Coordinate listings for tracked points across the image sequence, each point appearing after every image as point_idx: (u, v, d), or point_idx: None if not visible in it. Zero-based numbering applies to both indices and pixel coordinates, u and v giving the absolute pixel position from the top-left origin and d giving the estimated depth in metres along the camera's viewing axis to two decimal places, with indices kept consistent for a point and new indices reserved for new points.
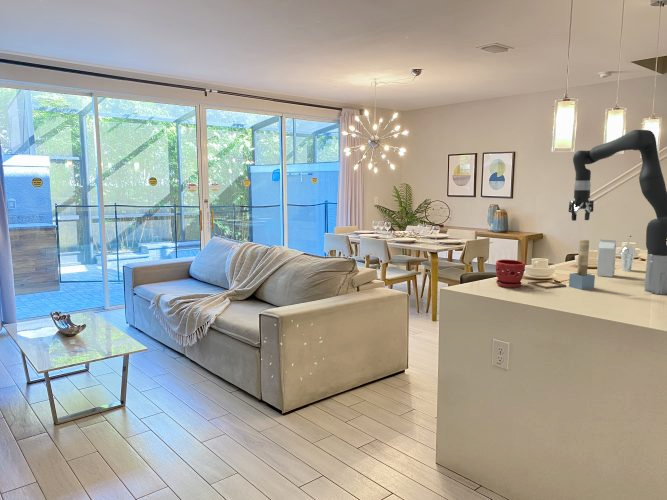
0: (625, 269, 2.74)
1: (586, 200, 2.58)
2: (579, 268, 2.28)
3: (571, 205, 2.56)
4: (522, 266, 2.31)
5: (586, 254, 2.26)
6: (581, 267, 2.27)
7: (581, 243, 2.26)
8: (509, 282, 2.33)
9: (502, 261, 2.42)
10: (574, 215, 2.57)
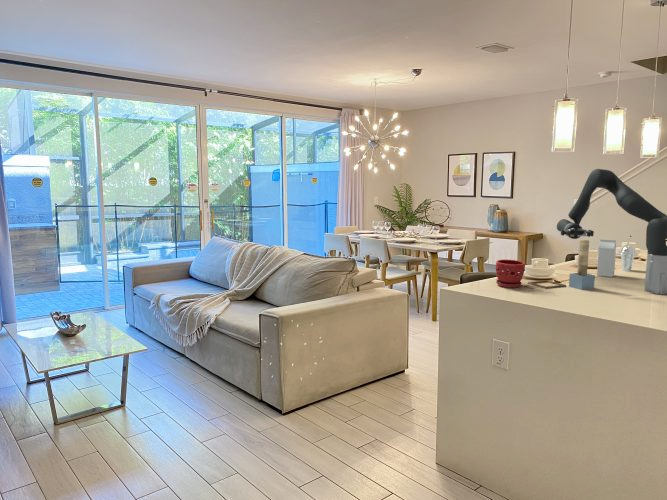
0: (625, 269, 2.74)
1: None
2: (579, 268, 2.28)
3: (561, 231, 2.46)
4: (522, 266, 2.31)
5: (586, 254, 2.26)
6: (581, 267, 2.27)
7: (581, 243, 2.26)
8: (509, 282, 2.33)
9: (502, 261, 2.42)
10: (567, 231, 2.41)
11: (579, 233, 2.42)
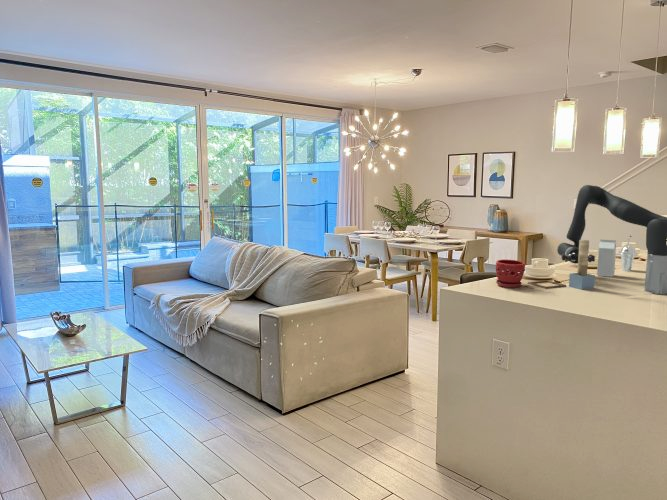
0: (625, 269, 2.74)
1: None
2: (579, 268, 2.28)
3: None
4: (522, 266, 2.31)
5: (586, 254, 2.26)
6: (581, 267, 2.27)
7: (581, 243, 2.26)
8: (509, 282, 2.33)
9: (502, 261, 2.42)
10: (568, 257, 2.37)
11: None
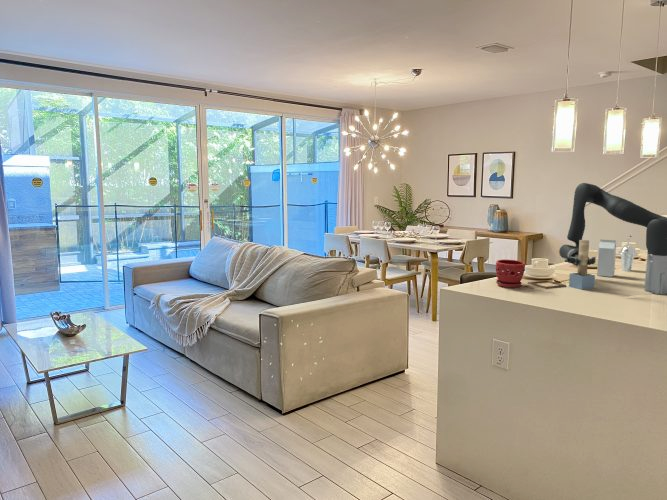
0: (625, 269, 2.74)
1: None
2: (579, 268, 2.28)
3: (567, 258, 2.34)
4: (522, 266, 2.31)
5: (586, 254, 2.26)
6: (581, 267, 2.27)
7: (581, 243, 2.26)
8: (509, 282, 2.33)
9: (502, 261, 2.42)
10: (576, 259, 2.28)
11: None
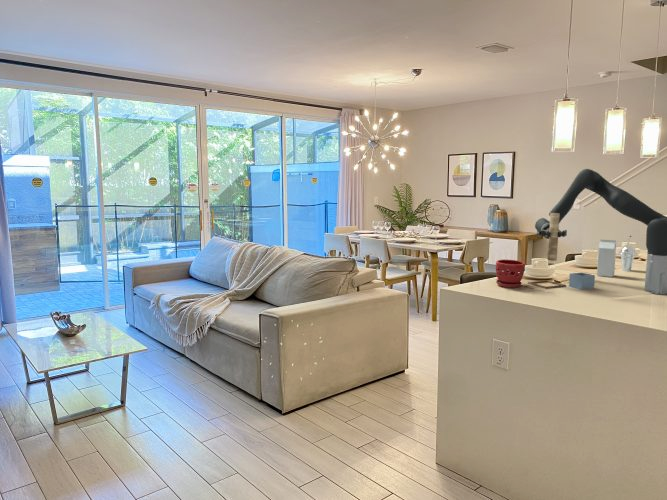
0: (625, 269, 2.74)
1: None
2: (550, 240, 2.31)
3: (538, 231, 2.38)
4: (522, 266, 2.31)
5: (556, 227, 2.29)
6: (551, 239, 2.31)
7: (552, 216, 2.29)
8: (509, 282, 2.33)
9: (502, 261, 2.42)
10: (546, 232, 2.32)
11: None
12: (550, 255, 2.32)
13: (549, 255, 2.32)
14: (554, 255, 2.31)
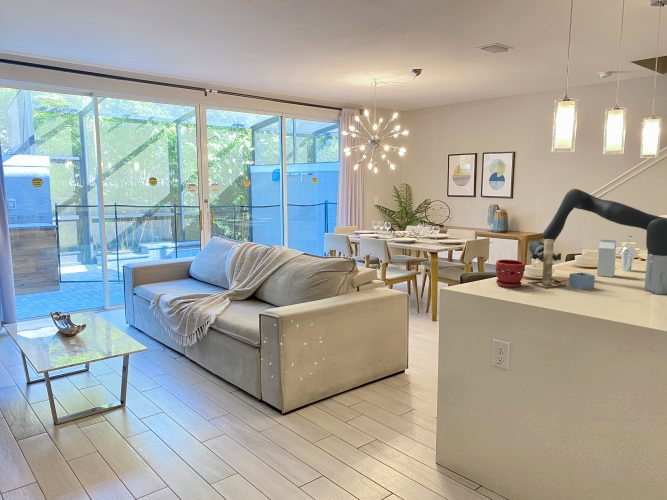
0: (625, 269, 2.74)
1: None
2: (544, 266, 2.34)
3: (532, 255, 2.40)
4: (522, 266, 2.31)
5: (550, 253, 2.32)
6: (545, 265, 2.33)
7: (546, 242, 2.32)
8: (509, 282, 2.33)
9: (502, 261, 2.42)
10: (539, 255, 2.35)
11: None
12: (544, 281, 2.34)
13: (544, 281, 2.34)
14: (548, 281, 2.33)
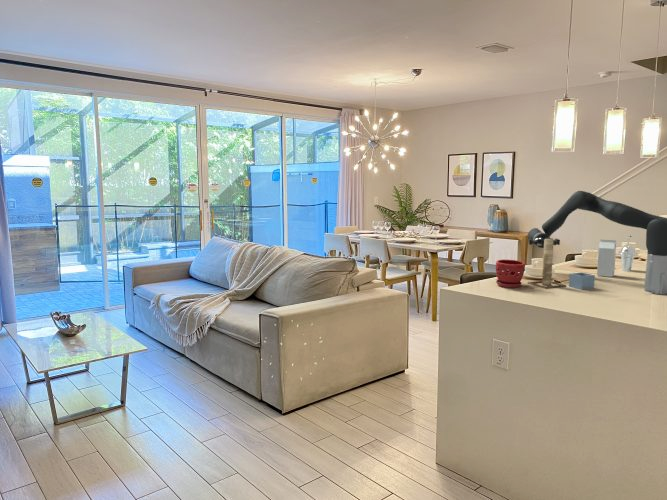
0: (625, 269, 2.74)
1: None
2: (544, 266, 2.33)
3: (529, 240, 2.52)
4: (522, 266, 2.31)
5: (550, 253, 2.31)
6: (545, 265, 2.33)
7: (546, 242, 2.32)
8: (509, 282, 2.33)
9: (502, 261, 2.42)
10: (534, 241, 2.47)
11: None
12: (544, 281, 2.34)
13: (543, 281, 2.34)
14: (548, 281, 2.33)
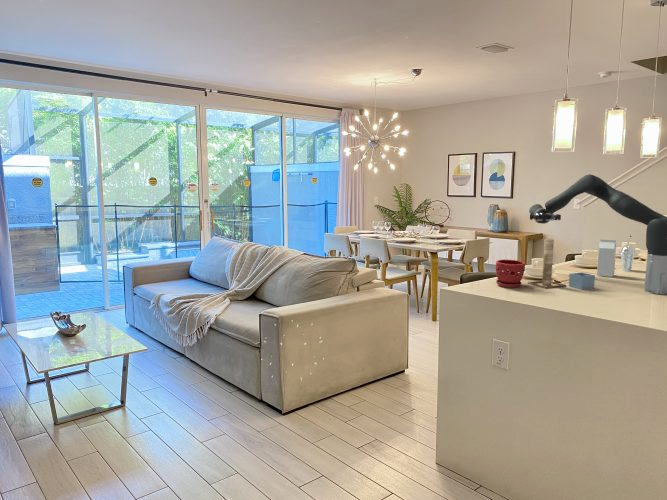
0: (625, 269, 2.74)
1: None
2: (544, 266, 2.33)
3: None
4: (522, 266, 2.31)
5: (551, 253, 2.31)
6: (545, 265, 2.33)
7: (546, 242, 2.31)
8: (509, 282, 2.33)
9: (502, 261, 2.42)
10: (535, 216, 2.45)
11: (547, 217, 2.47)
12: (544, 281, 2.34)
13: (544, 281, 2.34)
14: (548, 281, 2.33)
